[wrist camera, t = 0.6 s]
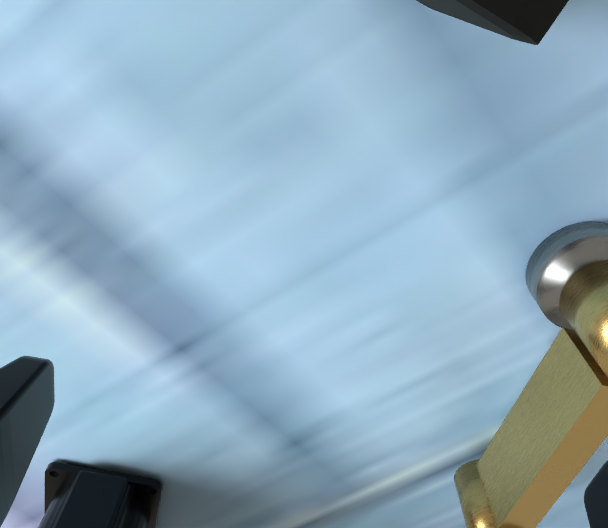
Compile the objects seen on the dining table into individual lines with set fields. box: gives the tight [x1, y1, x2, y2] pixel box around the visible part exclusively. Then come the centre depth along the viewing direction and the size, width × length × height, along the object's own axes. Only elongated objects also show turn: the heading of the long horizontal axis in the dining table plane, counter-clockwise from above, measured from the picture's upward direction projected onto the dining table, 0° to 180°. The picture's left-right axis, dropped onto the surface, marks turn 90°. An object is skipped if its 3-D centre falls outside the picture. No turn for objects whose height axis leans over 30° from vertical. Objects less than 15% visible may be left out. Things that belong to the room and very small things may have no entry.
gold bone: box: [454, 260, 608, 528], centre depth 22 cm, size 14×3×4 cm, turn 166°
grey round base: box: [526, 222, 608, 330], centre depth 22 cm, size 4×4×2 cm
